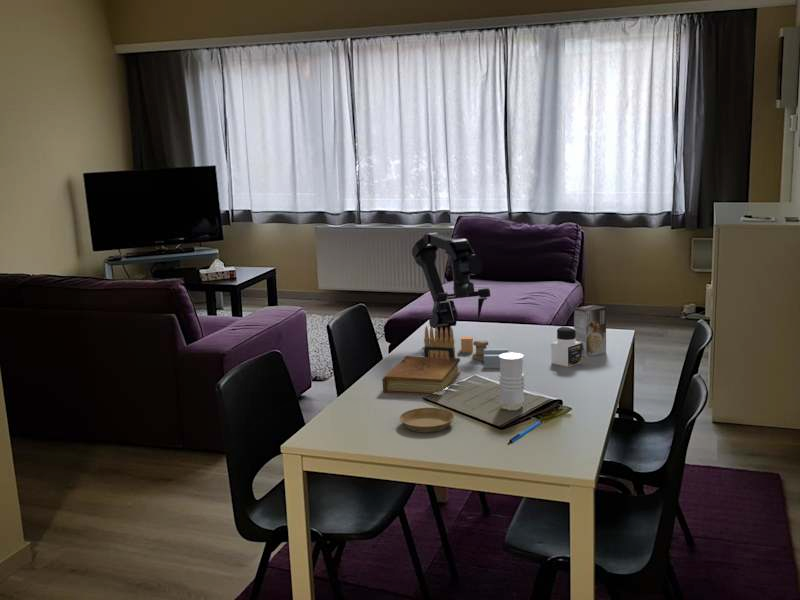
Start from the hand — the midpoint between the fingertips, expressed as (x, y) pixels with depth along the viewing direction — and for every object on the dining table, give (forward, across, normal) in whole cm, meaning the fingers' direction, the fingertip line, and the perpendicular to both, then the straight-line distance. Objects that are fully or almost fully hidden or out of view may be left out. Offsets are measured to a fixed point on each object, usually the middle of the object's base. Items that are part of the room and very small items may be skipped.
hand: (465, 319), depth 297 cm
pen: (+24, +17, -77) cm, 82 cm away
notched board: (+14, +9, -13) cm, 22 cm away
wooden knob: (+13, +4, -6) cm, 15 cm away
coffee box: (+16, +41, -1) cm, 44 cm away
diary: (+16, -14, -34) cm, 40 cm away
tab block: (+11, -1, +3) cm, 12 cm away
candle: (+21, +14, -57) cm, 62 cm away
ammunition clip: (+12, -10, -9) cm, 18 cm away
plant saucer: (+21, -9, -71) cm, 75 cm away
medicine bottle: (+17, +32, -13) cm, 38 cm away
